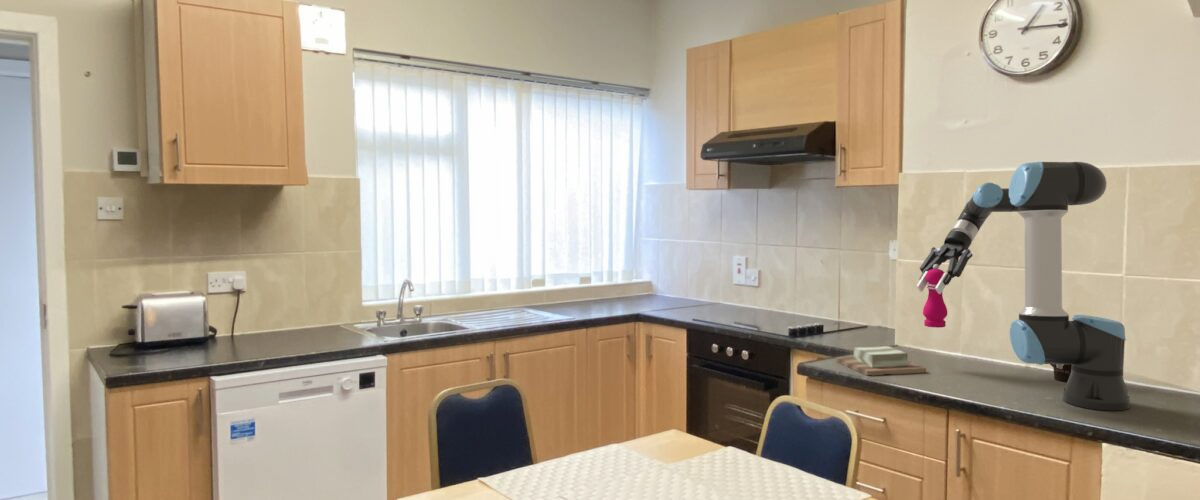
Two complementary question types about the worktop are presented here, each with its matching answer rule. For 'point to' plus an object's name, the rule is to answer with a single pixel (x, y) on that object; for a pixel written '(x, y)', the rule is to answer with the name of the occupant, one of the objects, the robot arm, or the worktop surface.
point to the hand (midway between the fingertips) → (928, 289)
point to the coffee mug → (1062, 372)
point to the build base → (881, 369)
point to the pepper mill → (934, 300)
